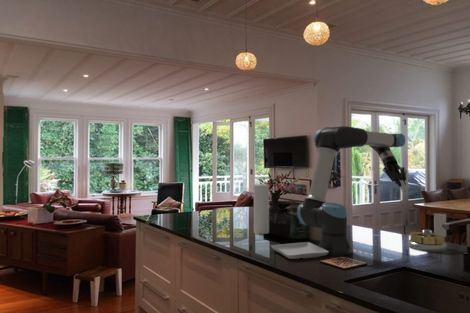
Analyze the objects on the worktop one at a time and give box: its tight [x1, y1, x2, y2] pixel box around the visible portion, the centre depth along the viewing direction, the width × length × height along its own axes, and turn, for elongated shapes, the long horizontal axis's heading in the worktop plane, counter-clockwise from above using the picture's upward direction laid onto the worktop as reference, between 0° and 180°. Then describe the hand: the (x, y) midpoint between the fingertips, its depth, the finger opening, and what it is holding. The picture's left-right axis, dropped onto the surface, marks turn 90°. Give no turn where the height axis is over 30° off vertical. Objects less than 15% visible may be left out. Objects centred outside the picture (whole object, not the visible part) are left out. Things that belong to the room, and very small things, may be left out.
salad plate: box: [270, 241, 329, 260], centre depth 182 cm, size 21×21×3 cm
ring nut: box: [409, 213, 447, 244], centre depth 194 cm, size 16×15×14 cm
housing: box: [408, 229, 447, 253], centre depth 194 cm, size 17×17×9 cm
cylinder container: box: [253, 183, 270, 235], centre depth 237 cm, size 9×9×30 cm
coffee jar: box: [289, 205, 308, 240], centre depth 220 cm, size 10×8×19 cm
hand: (404, 190), depth 210 cm, fingers closed
